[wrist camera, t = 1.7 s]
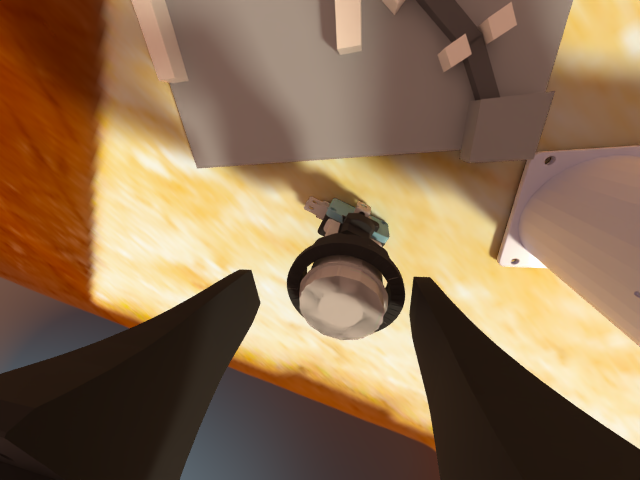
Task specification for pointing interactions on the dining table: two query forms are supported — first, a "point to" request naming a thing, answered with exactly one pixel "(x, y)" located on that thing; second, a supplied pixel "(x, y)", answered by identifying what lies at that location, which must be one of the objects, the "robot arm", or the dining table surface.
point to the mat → (340, 77)
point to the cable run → (486, 86)
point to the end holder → (166, 48)
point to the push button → (346, 274)
